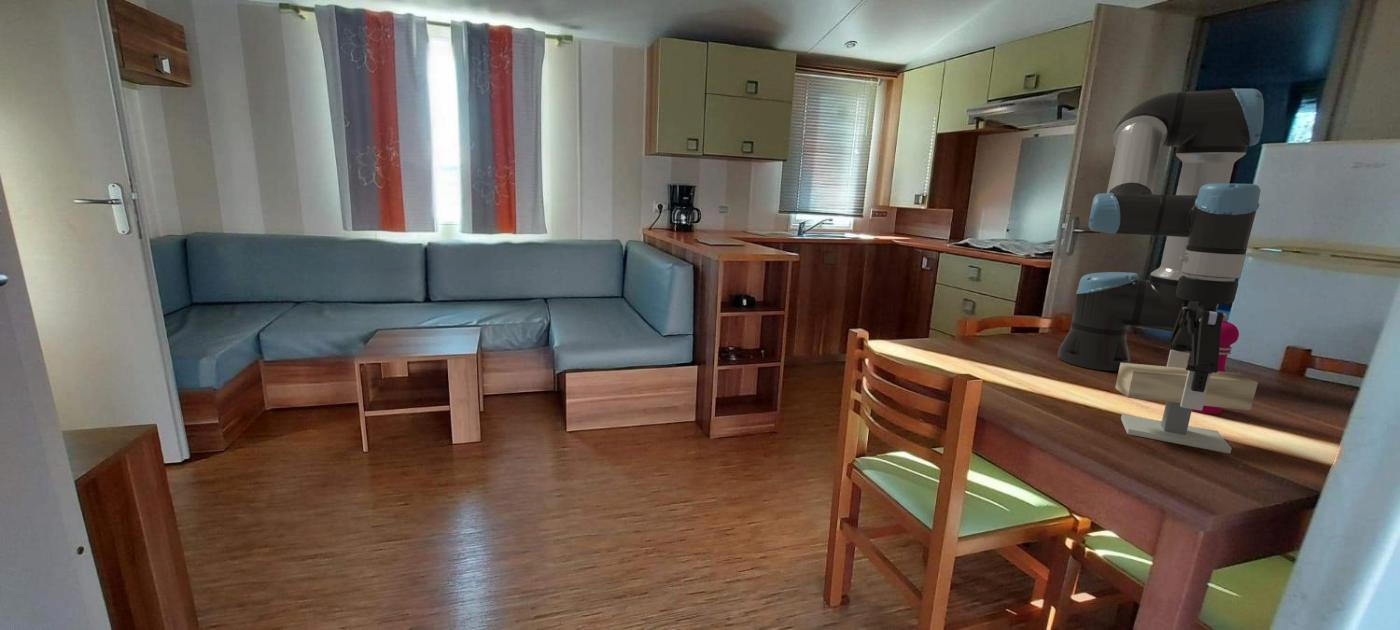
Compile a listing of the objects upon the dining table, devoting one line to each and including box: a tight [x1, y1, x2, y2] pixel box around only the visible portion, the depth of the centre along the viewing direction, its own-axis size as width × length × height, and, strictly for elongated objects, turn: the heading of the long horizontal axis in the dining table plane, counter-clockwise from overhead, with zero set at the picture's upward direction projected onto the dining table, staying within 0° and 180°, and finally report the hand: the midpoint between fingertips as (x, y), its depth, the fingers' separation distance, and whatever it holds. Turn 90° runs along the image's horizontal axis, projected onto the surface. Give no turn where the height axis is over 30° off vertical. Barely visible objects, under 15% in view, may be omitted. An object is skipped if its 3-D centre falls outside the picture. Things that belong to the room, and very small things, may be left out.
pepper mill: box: [1192, 312, 1240, 415], centre depth 111 cm, size 7×7×20 cm
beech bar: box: [1115, 362, 1259, 411], centre depth 98 cm, size 5×18×5 cm, turn 75°
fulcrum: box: [1120, 402, 1233, 454], centre depth 100 cm, size 8×14×7 cm, turn 60°
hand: (1181, 396), depth 99 cm, fingers open, 13 cm apart
